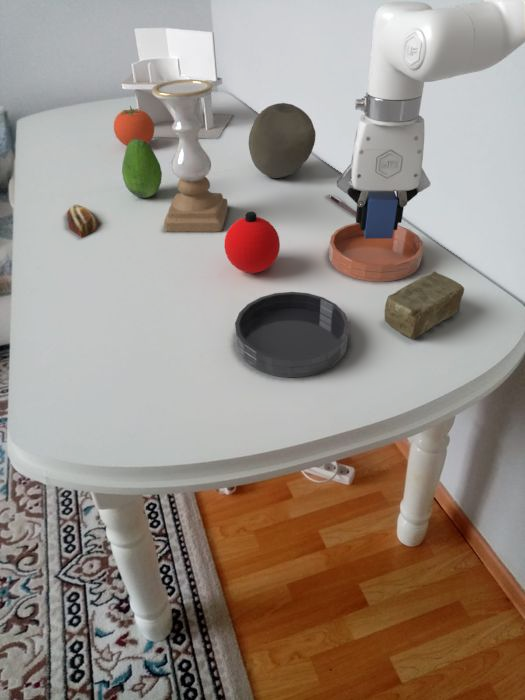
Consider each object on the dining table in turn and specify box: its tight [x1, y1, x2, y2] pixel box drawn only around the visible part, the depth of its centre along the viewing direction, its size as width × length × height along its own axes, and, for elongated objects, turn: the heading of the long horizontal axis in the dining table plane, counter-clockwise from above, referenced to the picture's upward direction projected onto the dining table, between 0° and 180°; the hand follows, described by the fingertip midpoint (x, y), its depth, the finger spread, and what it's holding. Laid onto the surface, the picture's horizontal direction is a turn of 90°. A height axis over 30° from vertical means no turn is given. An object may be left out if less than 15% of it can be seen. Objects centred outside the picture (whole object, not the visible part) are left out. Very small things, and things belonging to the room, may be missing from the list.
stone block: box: [384, 271, 465, 340], centre depth 73 cm, size 6×12×5 cm, turn 129°
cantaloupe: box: [248, 102, 317, 179], centre depth 113 cm, size 14×14×15 cm
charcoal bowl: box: [234, 291, 350, 378], centre depth 71 cm, size 15×15×3 cm
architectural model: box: [121, 27, 233, 139], centre depth 142 cm, size 28×21×23 cm
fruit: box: [121, 139, 163, 199], centre depth 108 cm, size 8×8×12 cm
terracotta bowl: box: [328, 222, 424, 283], centre depth 88 cm, size 15×15×3 cm
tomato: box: [113, 105, 154, 147], centre depth 133 cm, size 10×10×10 cm
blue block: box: [363, 191, 398, 239], centre depth 83 cm, size 4×4×6 cm
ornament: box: [224, 211, 281, 274], centre depth 84 cm, size 9×9×10 cm
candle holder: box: [152, 80, 229, 233], centre depth 94 cm, size 11×11×24 cm
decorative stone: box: [66, 203, 99, 239], centre depth 102 cm, size 14×6×2 cm, turn 32°
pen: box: [328, 194, 356, 217], centre depth 104 cm, size 11×1×1 cm, turn 26°
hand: (377, 225), depth 85 cm, fingers closed on blue block, 4 cm apart
